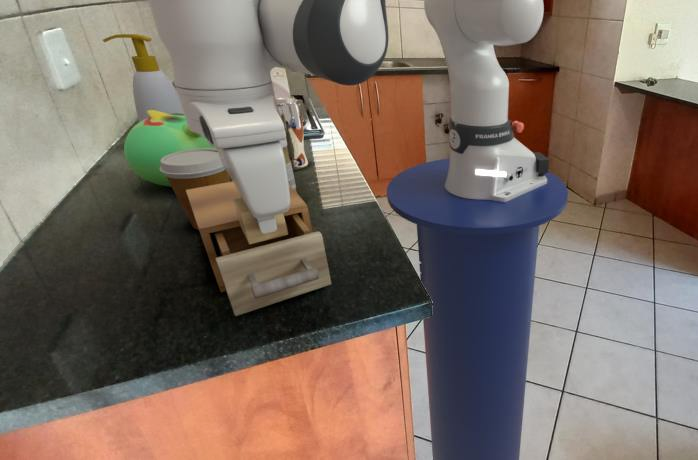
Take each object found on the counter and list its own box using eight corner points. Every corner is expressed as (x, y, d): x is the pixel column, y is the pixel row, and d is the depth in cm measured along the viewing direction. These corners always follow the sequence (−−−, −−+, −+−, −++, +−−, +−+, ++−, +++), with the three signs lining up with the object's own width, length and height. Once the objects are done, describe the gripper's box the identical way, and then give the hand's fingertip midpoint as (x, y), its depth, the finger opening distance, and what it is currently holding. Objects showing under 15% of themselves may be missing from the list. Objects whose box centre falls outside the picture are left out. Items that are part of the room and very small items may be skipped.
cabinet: (318, 263, 65) (307, 205, 60) (220, 292, 57) (198, 229, 53) (291, 225, 75) (279, 173, 70) (205, 246, 67) (185, 189, 63)
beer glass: (308, 170, 98) (295, 104, 91) (275, 171, 96) (259, 104, 89) (312, 160, 104) (301, 97, 97) (281, 161, 102) (267, 97, 95)
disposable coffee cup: (190, 213, 77) (168, 149, 71) (250, 208, 80) (233, 146, 74) (173, 238, 69) (146, 168, 63) (240, 231, 72) (220, 164, 66)
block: (279, 221, 57) (271, 191, 55) (288, 234, 54) (281, 203, 52) (242, 230, 54) (232, 199, 52) (249, 244, 51) (239, 212, 49)
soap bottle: (149, 145, 108) (107, 32, 95) (204, 141, 113) (170, 32, 100) (140, 159, 99) (93, 36, 87) (200, 153, 104) (163, 37, 92)
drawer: (343, 301, 55) (334, 249, 52) (242, 337, 49) (223, 281, 45) (302, 243, 68) (292, 198, 64) (217, 266, 61) (200, 217, 57)
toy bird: (162, 169, 95) (137, 101, 88) (247, 165, 99) (230, 100, 92) (122, 202, 79) (88, 124, 72) (224, 195, 84) (202, 121, 77)
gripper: (187, 95, 52) (219, 198, 59) (213, 136, 38) (251, 265, 45) (245, 91, 56) (270, 188, 62) (288, 127, 42) (314, 247, 48)
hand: (262, 221), depth 53 cm, fingers closed on block, 4 cm apart
